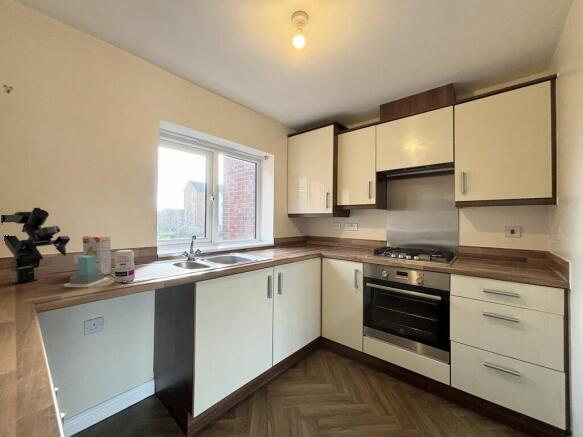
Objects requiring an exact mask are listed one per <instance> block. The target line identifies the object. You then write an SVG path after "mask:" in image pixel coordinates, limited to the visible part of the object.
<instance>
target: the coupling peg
mask: <svg viewBox="0 0 583 437" xmlns="http://www.w3.org/2000/svg"><path fill="white" fill-rule="evenodd" d="M77 262H78V275H79V277H90V276H93V275H96V263H95V256H84V255H82V256H79V257H77Z"/></svg>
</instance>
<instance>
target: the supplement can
mask: <svg viewBox="0 0 583 437" xmlns="http://www.w3.org/2000/svg"><path fill="white" fill-rule="evenodd" d="M113 256H114V258H113V260H114V281H115V282H116V283H118V282H123V283H126V282H125V281H129V282H131V280H132V281H134V280H135V273H136V272H135V252H134V251H133V249H121V250H116V251H115V253H114V255H113Z"/></svg>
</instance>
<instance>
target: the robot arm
mask: <svg viewBox="0 0 583 437" xmlns="http://www.w3.org/2000/svg"><path fill="white" fill-rule="evenodd" d="M11 214H12V215H2V214H0V215H1V223H2V224H3V223H13V222H15V223H16V224H17V225H18V224H19V225H22V229H21V232H22V233H26V234H27V236H28V238H27V239H21V240H19V238H18V237H17V235H15V236H9V235H8V236H6V235H5V236H4V241H5V243H4V244H5V246H6V247H7V248H8V250H9V251H10V252H11V253H12V255H13V260H12V261H11V263H10V265H9V268H10V269H9V270H10V271H11V272H15V281H12V282H11V283H12V284H26V283H30V282H31V283H32V282H34V281H38V280H39V279H38V278H36V276H35V275H36V274H35V269H37V268H39V267H40V263H41V260H43V259H44V256H43V254H42V253H41V252H40V250H38V248H37V247H46V246H54V247H55V250H57V252H59V253H60V254H61V255H63V256H64V257H65V256H67V249H66V247H67V246H66V245H67V244H68V243H69V242H70V241H71V238H70V237H69V236H68V235H61V236H57V238H56V239H53V238H54V235H56V234H58V233H60V232H61V228H60V227H59V226H58V225H53V226H46V227H42V226H43V225H45V223H46V221H47V219H48V217H49V215H50V213H49V212H48V211H47V210H45V209H41V208H40V207H33V209H32V211H17V212H14V214H13V213H11ZM52 239H53V240H52Z"/></svg>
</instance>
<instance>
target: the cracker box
mask: <svg viewBox="0 0 583 437" xmlns="http://www.w3.org/2000/svg"><path fill="white" fill-rule="evenodd" d="M82 247H83V248H82V249H83V250H82V251H83V253H82V254H83V256H95V263H96V273H104V276H107V275H110V274H112V261H111V260H112V259H111V258H112V255H111V254H112V253H111V251H112V250H111V236H108V235H107V236H106V235H95V234H91V235H90V234H89V235H83V236H82Z"/></svg>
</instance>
